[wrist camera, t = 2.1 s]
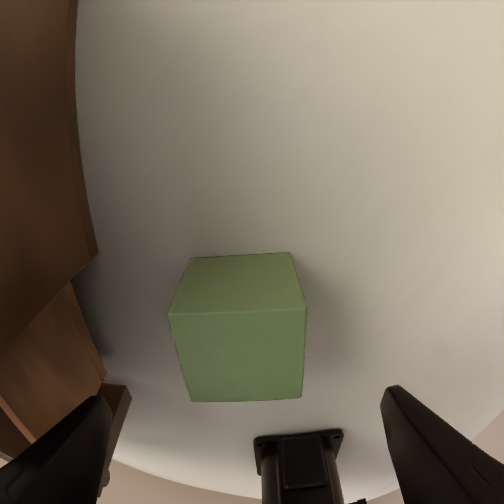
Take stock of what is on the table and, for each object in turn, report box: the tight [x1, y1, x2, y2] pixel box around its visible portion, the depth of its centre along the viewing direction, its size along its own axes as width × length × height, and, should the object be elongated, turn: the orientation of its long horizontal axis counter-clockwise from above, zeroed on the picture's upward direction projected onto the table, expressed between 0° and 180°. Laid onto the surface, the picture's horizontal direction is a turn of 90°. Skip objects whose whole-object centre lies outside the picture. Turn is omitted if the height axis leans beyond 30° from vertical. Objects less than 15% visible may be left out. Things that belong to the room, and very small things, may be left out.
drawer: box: [0, 280, 132, 497], centre depth 11 cm, size 18×11×7 cm, turn 4°
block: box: [167, 252, 307, 402], centre depth 12 cm, size 4×4×4 cm
